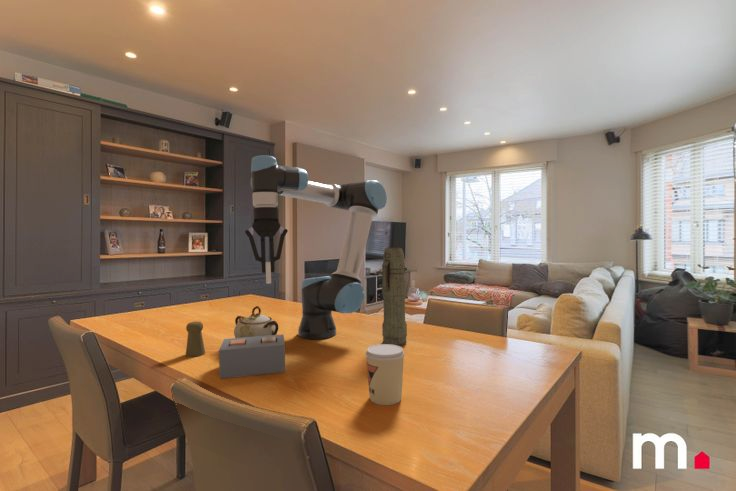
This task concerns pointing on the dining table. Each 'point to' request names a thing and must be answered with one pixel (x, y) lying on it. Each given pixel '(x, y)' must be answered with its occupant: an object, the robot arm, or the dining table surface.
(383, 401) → the cream lidded canister
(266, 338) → the cream peg
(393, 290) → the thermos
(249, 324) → the sugar bowl
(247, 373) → the socket block
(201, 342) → the green pepper mill
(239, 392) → the dining table surface
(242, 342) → the terracotta peg
